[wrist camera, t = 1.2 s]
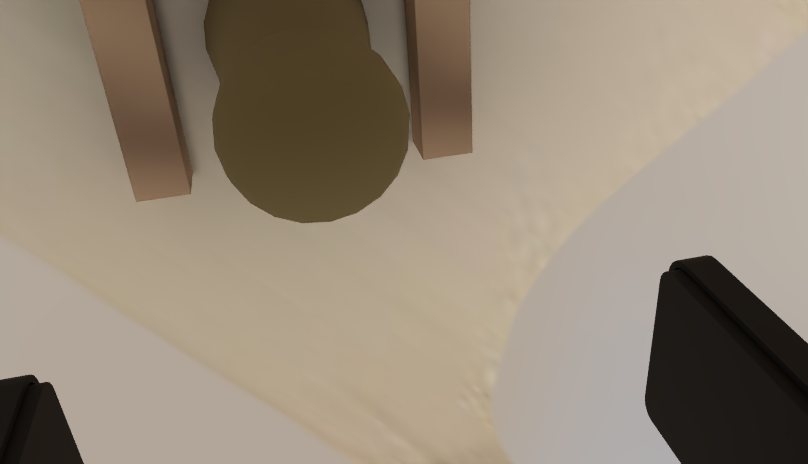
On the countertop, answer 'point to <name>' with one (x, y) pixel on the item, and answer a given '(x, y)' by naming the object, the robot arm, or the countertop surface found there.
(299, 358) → the countertop surface
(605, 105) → the countertop surface
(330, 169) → the cork
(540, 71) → the countertop surface
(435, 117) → the walnut track
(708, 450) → the robot arm
